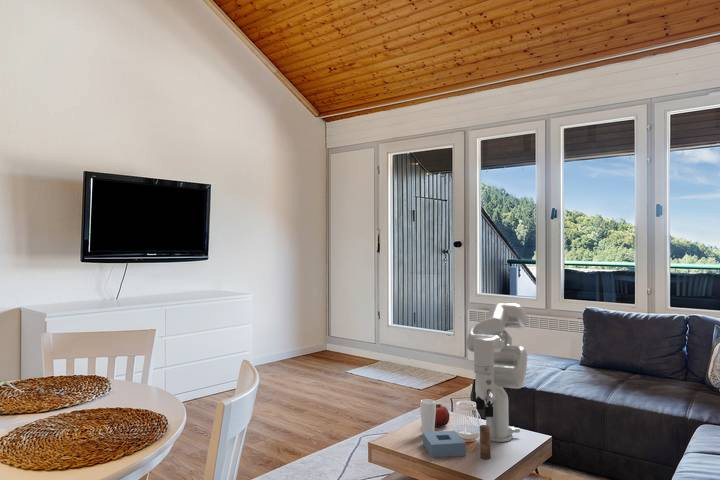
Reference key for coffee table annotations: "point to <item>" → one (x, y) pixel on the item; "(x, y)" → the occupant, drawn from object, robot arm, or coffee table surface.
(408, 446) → the coffee table surface
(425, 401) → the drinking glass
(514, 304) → the robot arm
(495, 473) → the coffee table surface
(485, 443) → the walnut pin
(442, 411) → the fruit
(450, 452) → the socket block
